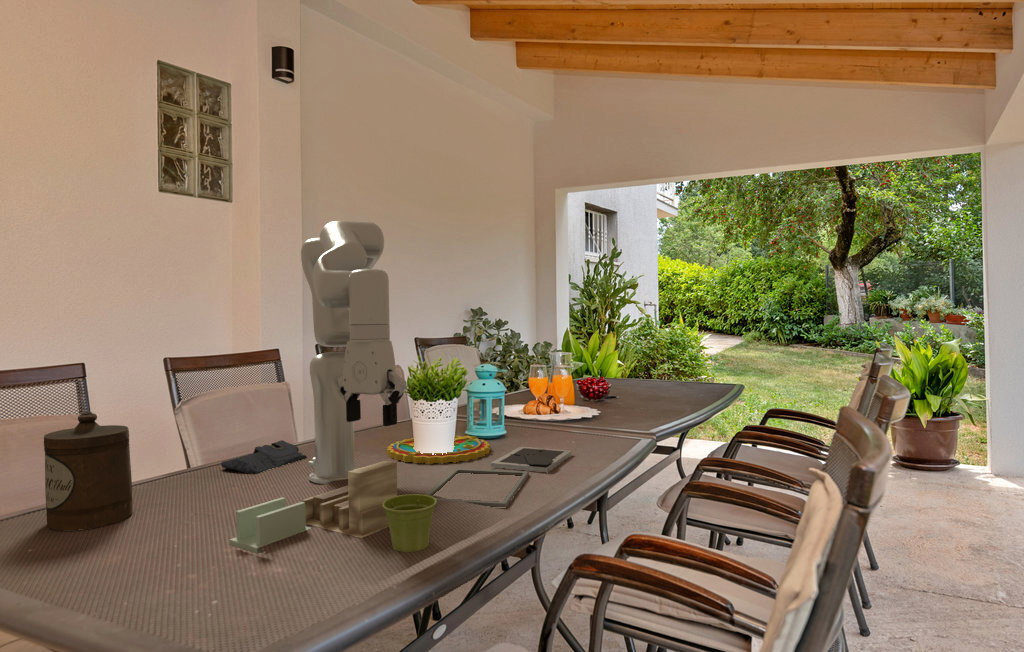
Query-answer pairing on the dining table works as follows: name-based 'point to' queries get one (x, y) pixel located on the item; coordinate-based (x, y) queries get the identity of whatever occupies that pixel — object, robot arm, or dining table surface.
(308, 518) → the offcut rack
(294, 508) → the green stand
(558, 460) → the grey-brown pointed piece
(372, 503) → the maple block
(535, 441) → the dining table surface
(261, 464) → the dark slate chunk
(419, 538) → the plant pot
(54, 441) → the wooden container
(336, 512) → the walnut offcut
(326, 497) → the walnut offcut
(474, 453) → the decorative plaque
